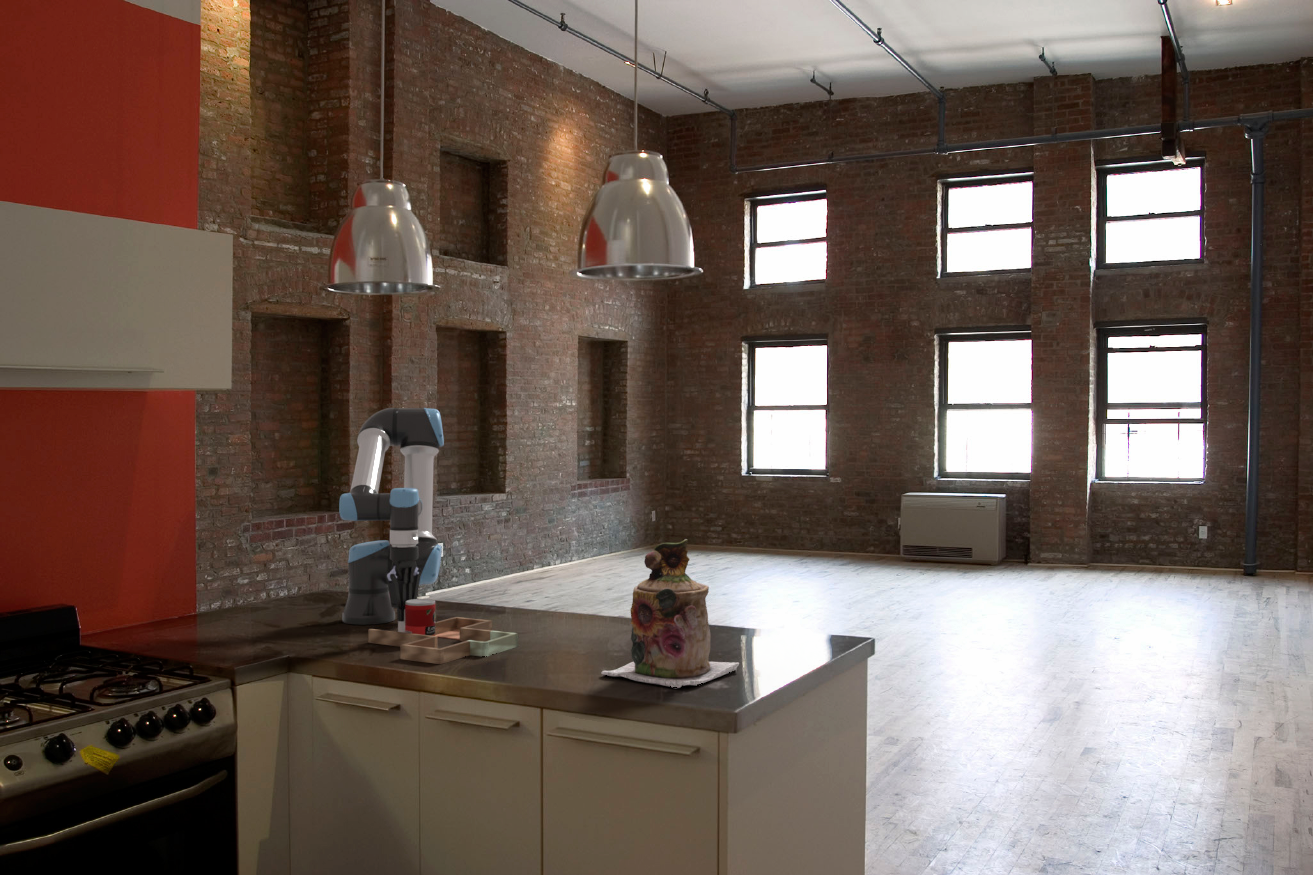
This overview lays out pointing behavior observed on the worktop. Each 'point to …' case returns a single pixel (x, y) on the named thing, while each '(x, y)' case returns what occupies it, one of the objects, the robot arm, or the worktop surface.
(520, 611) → the worktop surface
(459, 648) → the channel
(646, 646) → the cookie jar
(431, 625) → the canned food
